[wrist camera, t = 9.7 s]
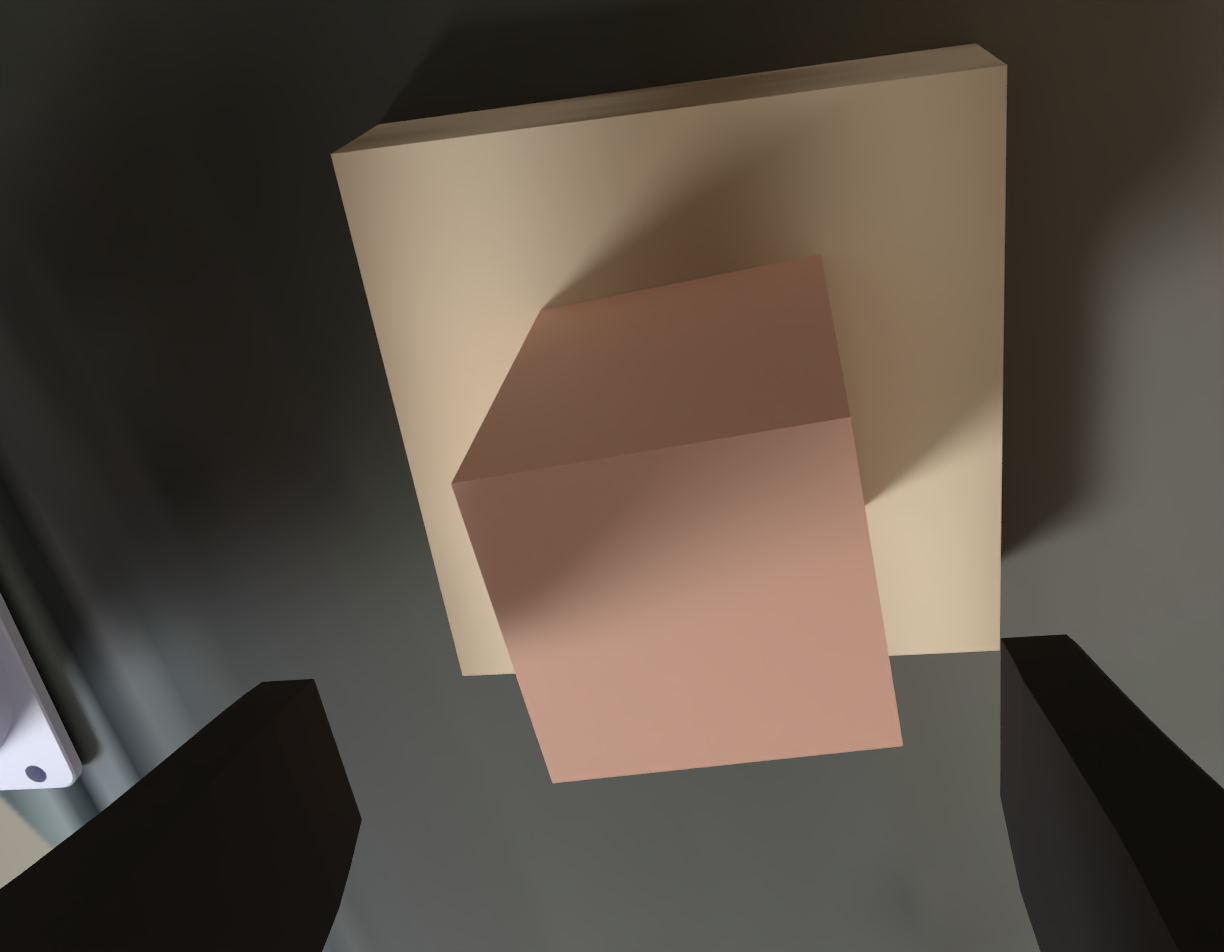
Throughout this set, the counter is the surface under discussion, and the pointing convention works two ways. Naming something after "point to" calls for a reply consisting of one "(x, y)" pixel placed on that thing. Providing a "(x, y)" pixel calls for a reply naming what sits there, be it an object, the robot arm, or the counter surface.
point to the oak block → (712, 245)
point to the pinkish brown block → (683, 530)
